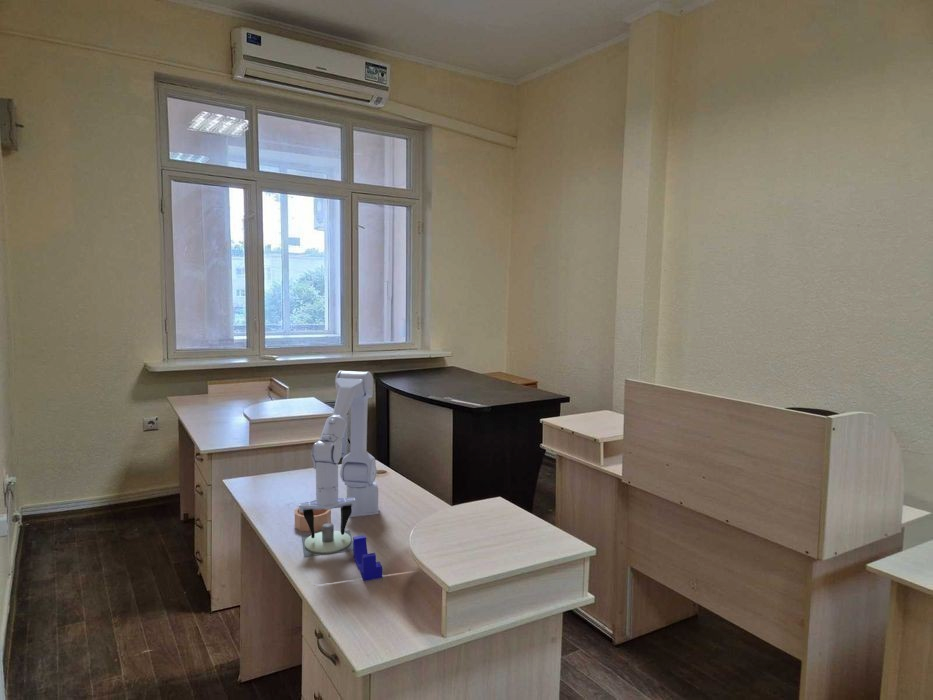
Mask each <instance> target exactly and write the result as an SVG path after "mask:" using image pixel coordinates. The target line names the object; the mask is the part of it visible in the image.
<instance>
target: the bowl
mask: <svg viewBox="0 0 933 700" xmlns="http://www.w3.org/2000/svg"><path fill="white" fill-rule="evenodd" d="M313 515H314V532H317V531H318V532H319V531H322V525H324V524H328V523H329V524H332V509H328V510H325V509H322V510H313ZM294 528H295V529H297V530H298V531H302V532H308V533H309V532H310V533H311V531H310V528H309V525H308V523H307V521H306V519H305V517H304V513H303V512H302V513H299V506H297V507H296V508H295V509H294Z"/></svg>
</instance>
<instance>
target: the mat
mask: <svg viewBox="0 0 933 700" xmlns="http://www.w3.org/2000/svg"><path fill="white" fill-rule="evenodd" d="M344 533H347V534H348V535H349V536H350V537H351V543H350V545H349V546H348V547H346V548H345V549H343V550H340V551H337V552H332V553H315V552H311V551H309V550H307V549H306V548H305V540H306V539H307V538H308V537H309V536H311V534H308V535H307V534H306V535H301V543H302V551H303V558H311V557H317V556H325V555H326V556H327V555H333V554H341V553H347V552H348V553H349V552H353V536H352V534H351V531H350V529H348V530H345V531H344Z"/></svg>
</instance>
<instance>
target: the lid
mask: <svg viewBox="0 0 933 700" xmlns="http://www.w3.org/2000/svg"><path fill="white" fill-rule="evenodd" d="M334 526H335V525H334V524H333V523H331V524H329V523H328V524H324V525H322V530H321V531H318V532H314V534H315V538H312V537H311V536H309V537H308V538H307V539H306V540H305V548H306V549H307V550H309V551H311V552H315V553H332V552H337V551H340V550H343V549H345V548H346V547H348V546H349V545H350V543H351V537H352V536H351V537H350V536H349V535H348V534H347V533H344V535H341V530H334V528H335V527H334Z"/></svg>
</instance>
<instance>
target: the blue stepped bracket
mask: <svg viewBox="0 0 933 700" xmlns="http://www.w3.org/2000/svg"><path fill="white" fill-rule="evenodd" d="M352 540H353V551H352V557H353V558H352V559H354V562H355V564H356V566H357V568H358V569H357V570H358V571H359V573H360V575H361V579H362V581H363V582H366V581H373V580H378V579H382V578H383V565H382V564H381V561H377V555H376V553H375V552H371V553H368V546H367V536H366V534H363V535H356V536H355V535H354V536H352Z"/></svg>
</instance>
